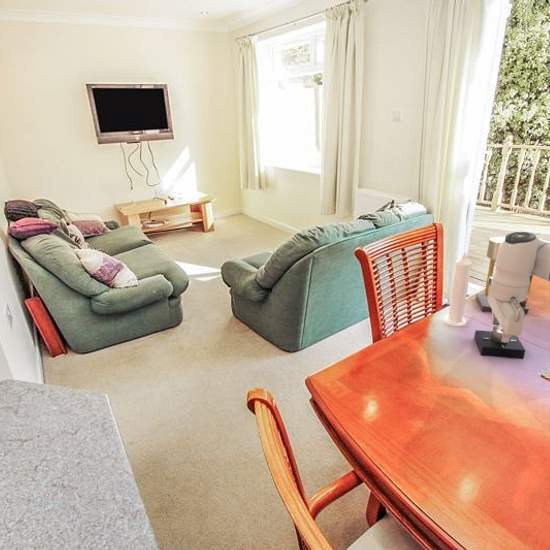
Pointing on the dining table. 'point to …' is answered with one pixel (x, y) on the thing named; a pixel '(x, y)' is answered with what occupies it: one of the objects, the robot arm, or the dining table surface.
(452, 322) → the candle
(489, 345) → the dimmer panel
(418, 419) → the dining table surface
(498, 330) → the dimmer knob
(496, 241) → the desk lamp
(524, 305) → the lamp base
